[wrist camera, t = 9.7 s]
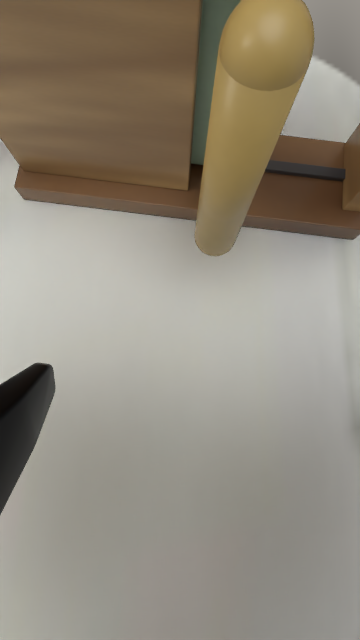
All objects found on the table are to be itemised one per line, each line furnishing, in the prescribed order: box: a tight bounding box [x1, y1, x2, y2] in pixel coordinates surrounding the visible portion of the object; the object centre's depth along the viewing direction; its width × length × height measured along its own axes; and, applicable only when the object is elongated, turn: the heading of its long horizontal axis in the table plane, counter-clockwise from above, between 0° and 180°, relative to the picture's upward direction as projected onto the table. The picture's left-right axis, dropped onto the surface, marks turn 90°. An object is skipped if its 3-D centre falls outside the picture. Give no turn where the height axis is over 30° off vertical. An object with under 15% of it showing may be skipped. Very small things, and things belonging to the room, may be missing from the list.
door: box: [191, 0, 314, 256], centre depth 11 cm, size 7×9×12 cm
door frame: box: [0, 0, 360, 239], centre depth 12 cm, size 5×19×16 cm, turn 83°
